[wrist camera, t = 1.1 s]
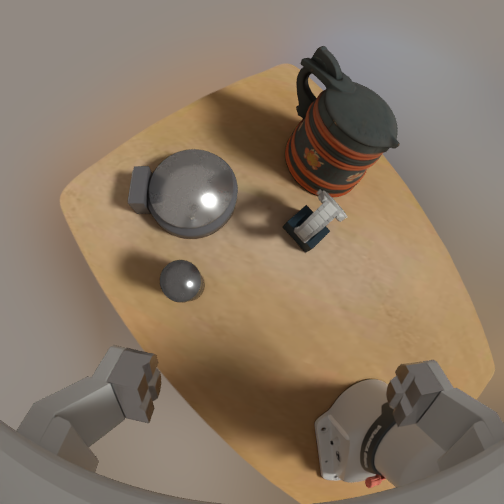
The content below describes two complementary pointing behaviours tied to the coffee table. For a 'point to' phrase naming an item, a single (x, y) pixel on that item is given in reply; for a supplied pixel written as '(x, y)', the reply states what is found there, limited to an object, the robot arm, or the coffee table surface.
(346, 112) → the beer stein
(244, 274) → the coffee table surface
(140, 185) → the scale
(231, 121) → the coffee table surface
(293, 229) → the watch
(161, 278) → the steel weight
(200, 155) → the pan
